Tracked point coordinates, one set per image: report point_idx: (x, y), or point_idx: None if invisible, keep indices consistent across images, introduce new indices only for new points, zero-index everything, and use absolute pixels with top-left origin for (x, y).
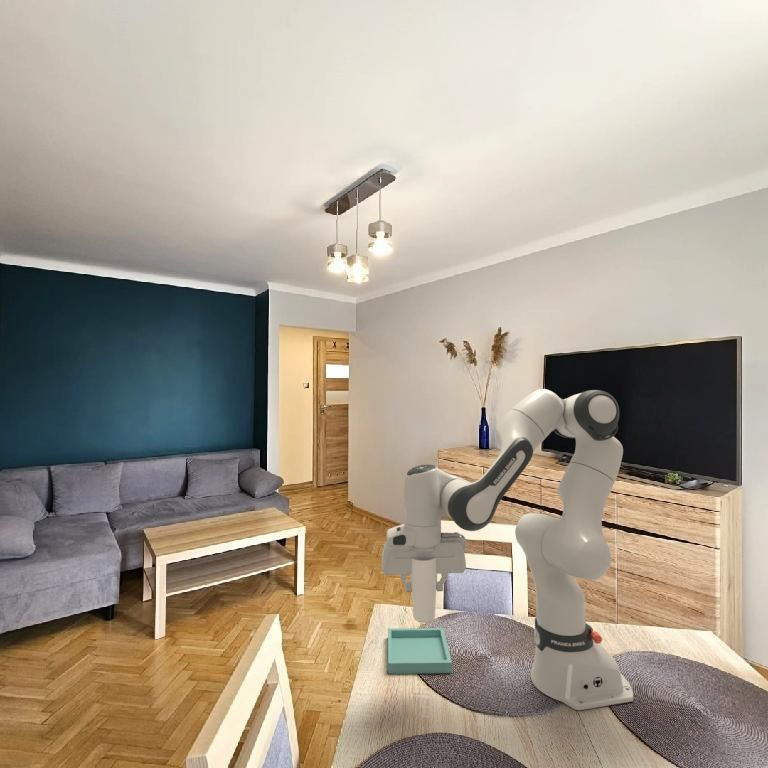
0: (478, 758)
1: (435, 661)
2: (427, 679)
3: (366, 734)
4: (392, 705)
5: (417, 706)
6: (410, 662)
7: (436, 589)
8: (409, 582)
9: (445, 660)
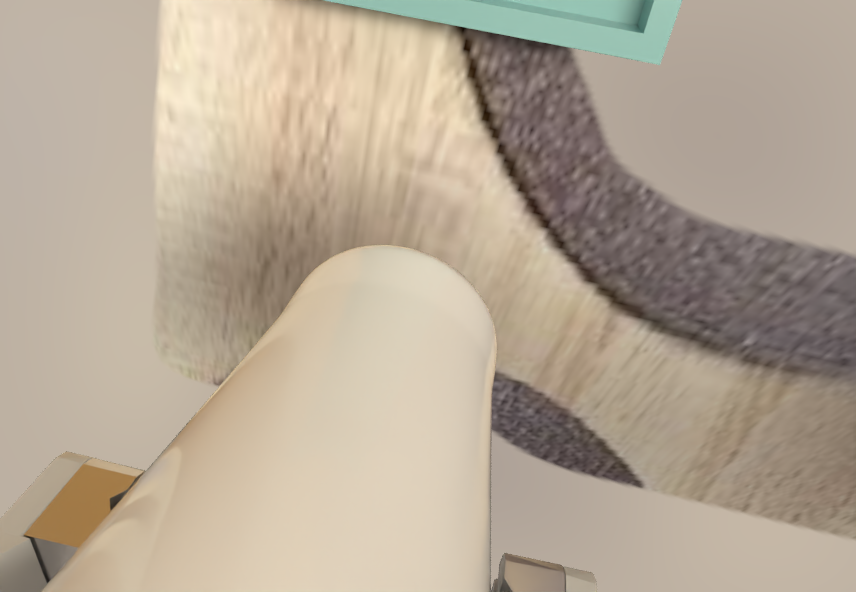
0: (535, 455)
1: (563, 30)
2: (495, 76)
3: (214, 308)
4: (305, 208)
5: (404, 236)
6: (407, 9)
7: (499, 566)
8: (64, 551)
9: (630, 35)
